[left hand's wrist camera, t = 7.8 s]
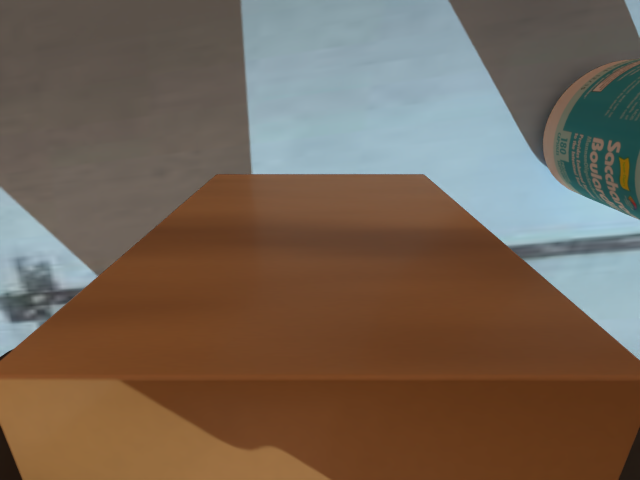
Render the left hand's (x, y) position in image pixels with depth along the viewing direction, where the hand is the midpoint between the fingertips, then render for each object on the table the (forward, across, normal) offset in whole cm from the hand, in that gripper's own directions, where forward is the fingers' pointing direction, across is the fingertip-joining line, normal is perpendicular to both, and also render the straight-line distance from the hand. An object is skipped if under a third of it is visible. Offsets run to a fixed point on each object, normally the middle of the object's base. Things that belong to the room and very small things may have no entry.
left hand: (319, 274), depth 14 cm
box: (+1, 0, -8) cm, 9 cm away
